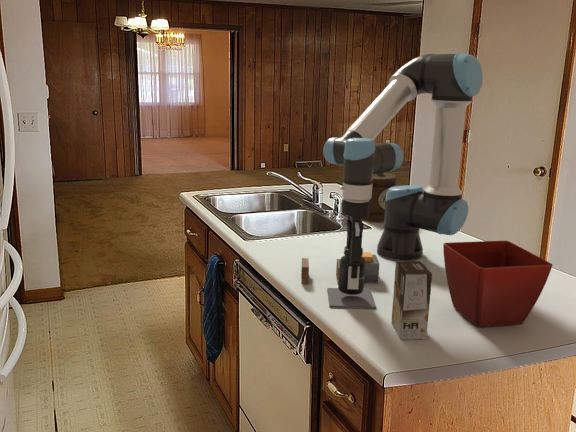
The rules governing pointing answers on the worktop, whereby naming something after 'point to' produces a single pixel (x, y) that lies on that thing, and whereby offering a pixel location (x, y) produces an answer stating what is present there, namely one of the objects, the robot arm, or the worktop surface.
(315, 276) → the worktop surface
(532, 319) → the worktop surface
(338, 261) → the block
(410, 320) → the coffee box
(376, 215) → the wooden container
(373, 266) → the plunger housing
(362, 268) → the supplement bottle
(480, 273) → the plant pot
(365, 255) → the plunger
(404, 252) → the robot arm
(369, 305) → the mat
